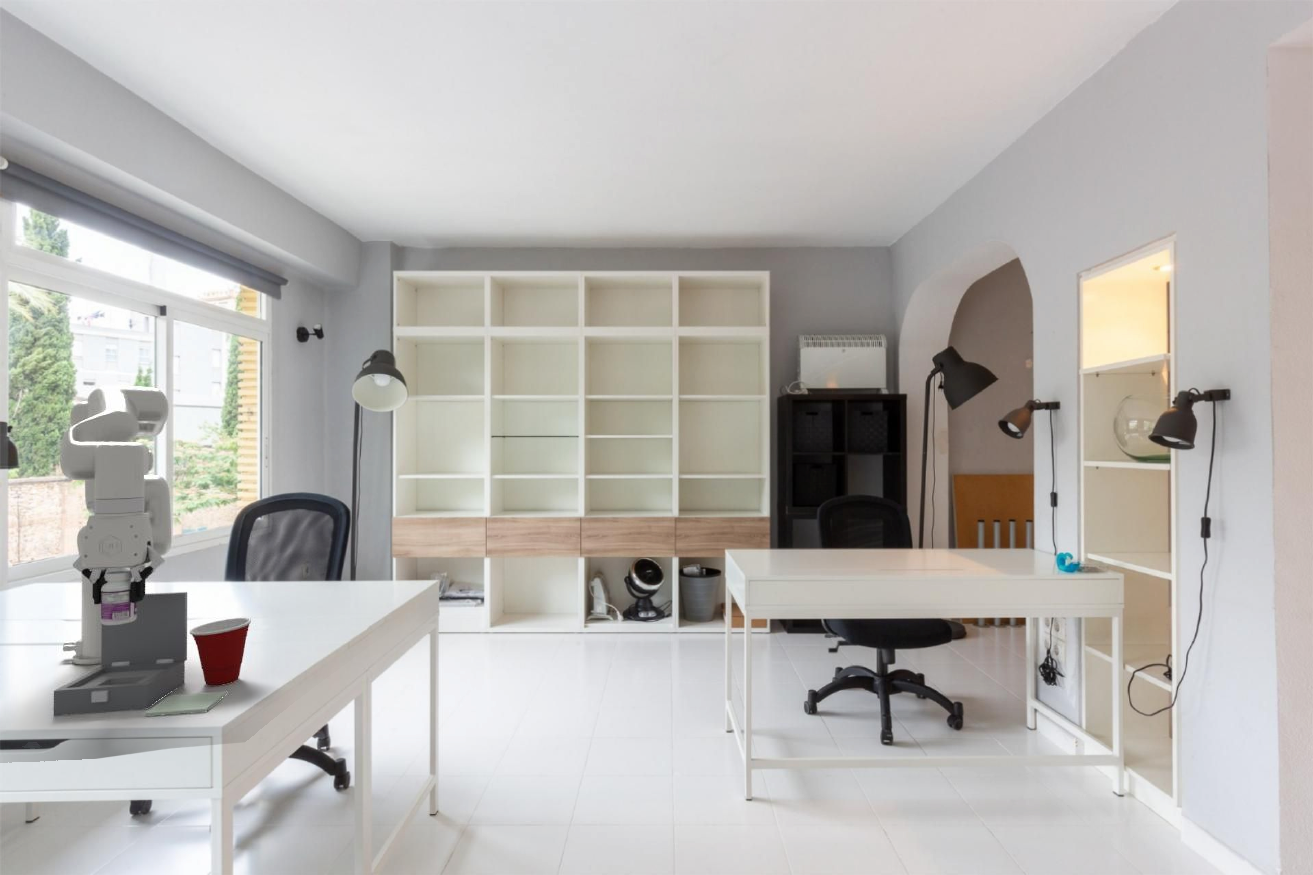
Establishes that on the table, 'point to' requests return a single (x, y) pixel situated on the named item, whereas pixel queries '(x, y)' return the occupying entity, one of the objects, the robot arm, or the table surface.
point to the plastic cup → (221, 649)
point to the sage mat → (186, 703)
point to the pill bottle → (117, 599)
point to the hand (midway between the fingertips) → (119, 601)
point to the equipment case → (134, 661)
